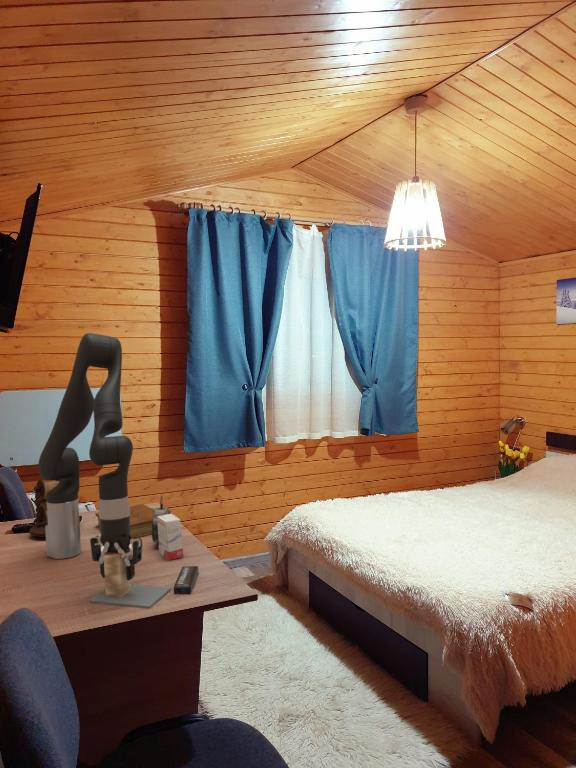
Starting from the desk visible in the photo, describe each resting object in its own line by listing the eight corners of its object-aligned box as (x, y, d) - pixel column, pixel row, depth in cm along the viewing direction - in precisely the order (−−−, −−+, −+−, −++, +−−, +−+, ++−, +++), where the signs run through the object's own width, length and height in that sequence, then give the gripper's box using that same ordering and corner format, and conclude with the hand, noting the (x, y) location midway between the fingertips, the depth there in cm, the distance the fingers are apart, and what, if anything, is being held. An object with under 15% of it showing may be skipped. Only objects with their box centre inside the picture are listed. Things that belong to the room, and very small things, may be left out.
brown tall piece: (62, 525, 213) (59, 471, 212) (83, 532, 203) (80, 476, 202) (22, 535, 202) (18, 479, 201) (42, 543, 192) (38, 484, 191)
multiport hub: (198, 573, 163) (198, 565, 162) (190, 595, 148) (190, 586, 148) (182, 574, 162) (182, 566, 162) (173, 596, 148) (173, 587, 148)
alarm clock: (158, 539, 193) (155, 491, 192) (174, 538, 193) (172, 490, 192) (151, 550, 182) (149, 499, 181) (168, 550, 182) (166, 499, 181)
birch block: (105, 595, 147) (103, 553, 147) (115, 588, 152) (113, 547, 151) (121, 597, 146) (119, 554, 146) (130, 590, 151) (128, 548, 150)
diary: (171, 532, 202) (170, 516, 202) (119, 544, 191) (118, 527, 191) (145, 517, 220) (144, 503, 220) (96, 528, 209) (95, 512, 209)
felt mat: (89, 602, 145) (89, 600, 145) (113, 584, 156) (113, 583, 156) (149, 608, 140) (149, 606, 140) (170, 589, 151) (170, 588, 151)
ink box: (183, 557, 175) (182, 519, 174) (167, 561, 172) (165, 522, 171) (173, 549, 182) (172, 512, 181) (158, 553, 179) (156, 515, 179)
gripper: (81, 517, 146) (84, 581, 147) (131, 519, 142) (135, 586, 143) (98, 509, 153) (102, 570, 154) (147, 511, 149) (150, 574, 150)
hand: (117, 577), depth 149 cm, fingers open, 6 cm apart
